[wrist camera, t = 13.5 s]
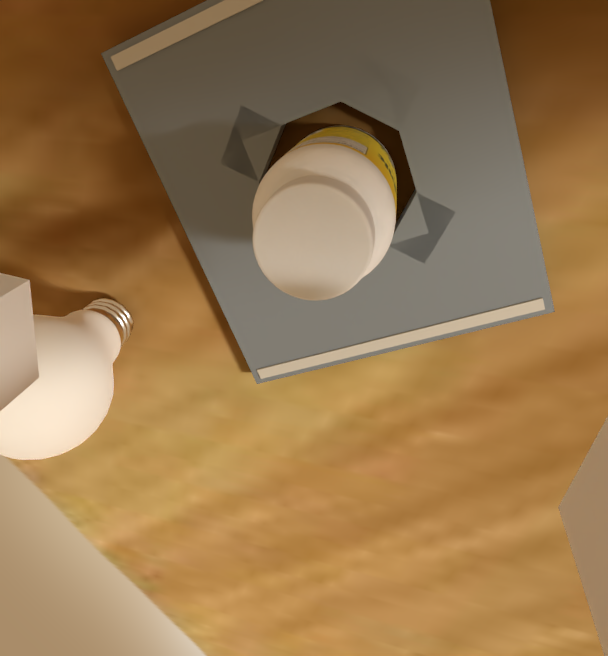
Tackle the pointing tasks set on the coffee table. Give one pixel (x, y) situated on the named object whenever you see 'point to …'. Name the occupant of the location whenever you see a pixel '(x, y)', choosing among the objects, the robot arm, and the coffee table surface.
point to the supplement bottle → (325, 213)
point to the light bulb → (66, 381)
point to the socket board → (374, 100)
